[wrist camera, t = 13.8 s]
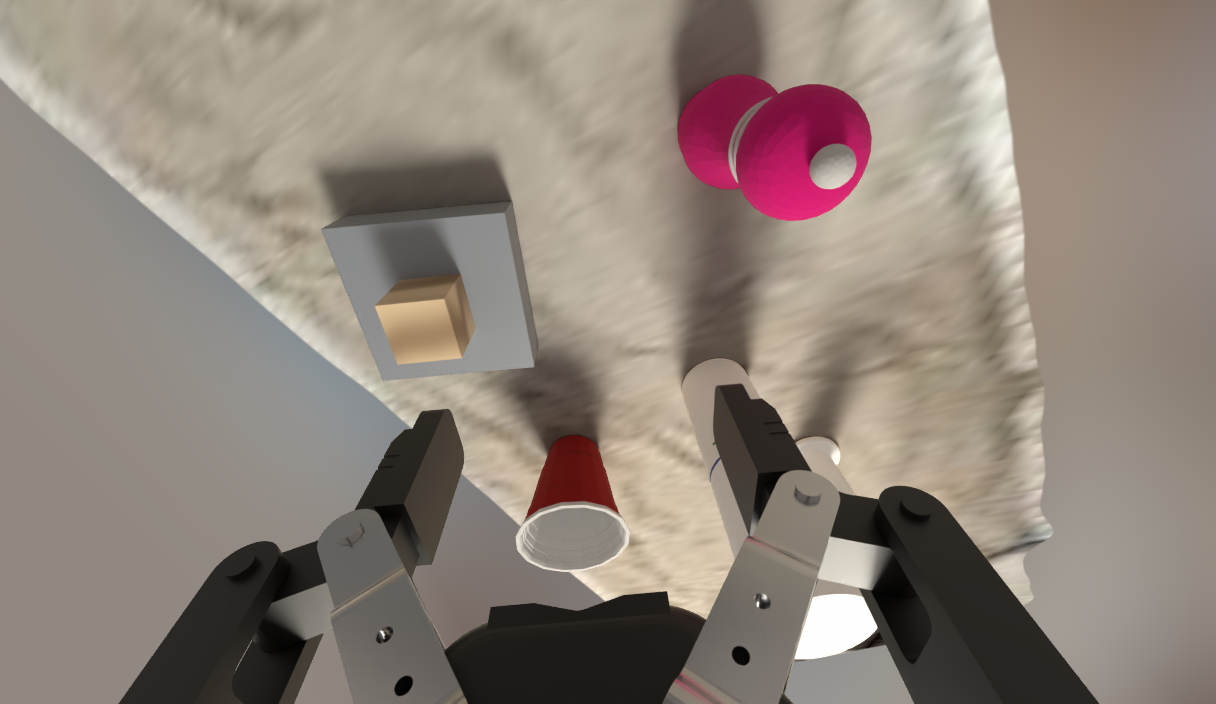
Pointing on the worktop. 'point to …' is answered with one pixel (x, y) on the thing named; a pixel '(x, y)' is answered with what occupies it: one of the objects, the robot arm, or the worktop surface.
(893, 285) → the worktop surface
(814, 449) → the candle
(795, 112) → the pepper mill
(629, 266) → the worktop surface
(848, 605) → the cylindrical container
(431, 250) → the slate plinth
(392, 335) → the oak cube
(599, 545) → the plastic cup
